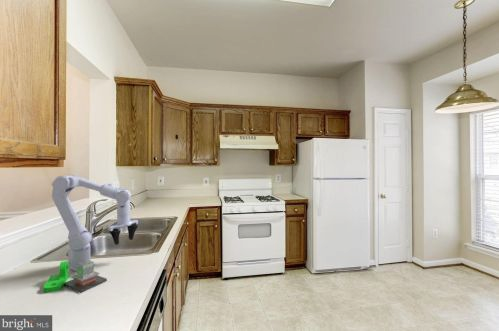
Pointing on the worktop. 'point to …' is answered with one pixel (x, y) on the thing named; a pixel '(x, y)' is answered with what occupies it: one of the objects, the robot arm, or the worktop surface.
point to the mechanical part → (57, 279)
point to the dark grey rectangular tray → (85, 282)
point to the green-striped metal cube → (85, 268)
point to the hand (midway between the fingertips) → (123, 241)
